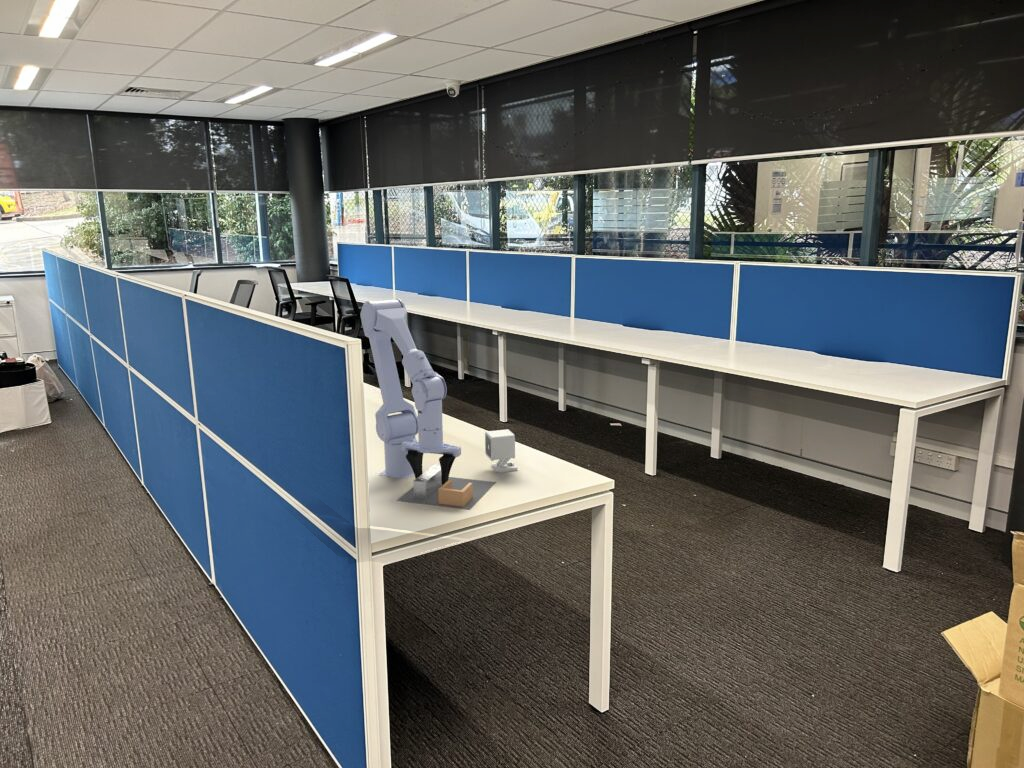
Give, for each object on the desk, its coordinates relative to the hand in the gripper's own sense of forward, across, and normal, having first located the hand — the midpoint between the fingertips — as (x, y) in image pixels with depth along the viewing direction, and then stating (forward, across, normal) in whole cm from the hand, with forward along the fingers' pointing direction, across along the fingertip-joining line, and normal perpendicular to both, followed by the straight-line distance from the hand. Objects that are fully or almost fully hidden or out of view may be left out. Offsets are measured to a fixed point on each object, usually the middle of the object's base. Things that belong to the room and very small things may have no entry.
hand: (432, 482), depth 177 cm
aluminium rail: (+1, 0, -1) cm, 2 cm away
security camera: (+2, +12, +18) cm, 21 cm away
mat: (+2, +4, -1) cm, 5 cm away
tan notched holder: (+1, +8, -6) cm, 10 cm away
